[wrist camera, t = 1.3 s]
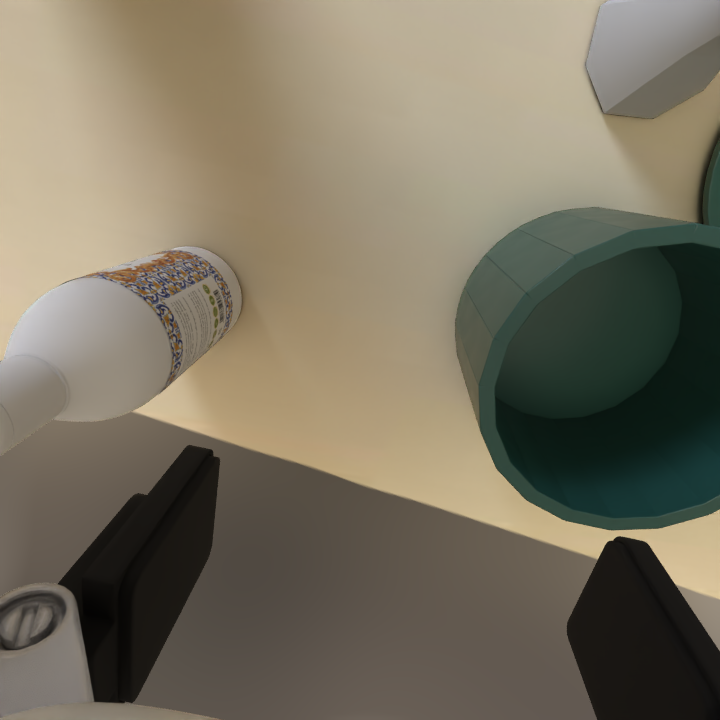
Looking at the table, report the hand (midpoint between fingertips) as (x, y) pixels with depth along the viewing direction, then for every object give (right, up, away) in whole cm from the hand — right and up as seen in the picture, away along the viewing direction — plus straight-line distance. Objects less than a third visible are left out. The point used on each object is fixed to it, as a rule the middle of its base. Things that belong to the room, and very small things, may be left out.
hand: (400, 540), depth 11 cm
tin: (+14, +7, +22) cm, 27 cm away
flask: (+16, +22, +16) cm, 31 cm away
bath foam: (-13, +9, +23) cm, 28 cm away
